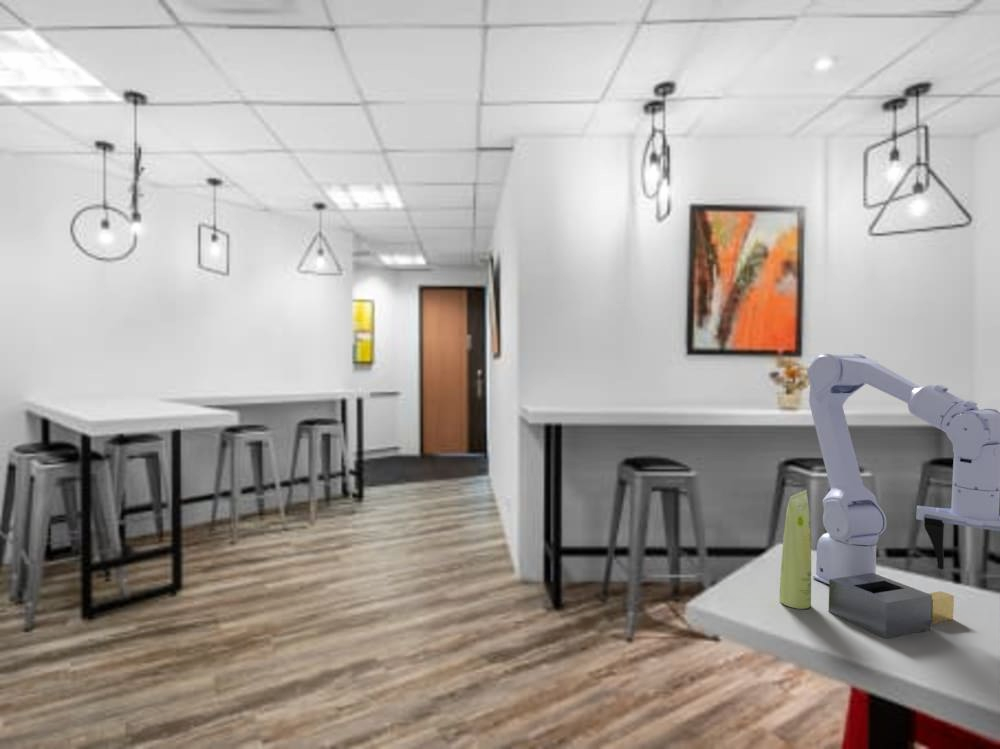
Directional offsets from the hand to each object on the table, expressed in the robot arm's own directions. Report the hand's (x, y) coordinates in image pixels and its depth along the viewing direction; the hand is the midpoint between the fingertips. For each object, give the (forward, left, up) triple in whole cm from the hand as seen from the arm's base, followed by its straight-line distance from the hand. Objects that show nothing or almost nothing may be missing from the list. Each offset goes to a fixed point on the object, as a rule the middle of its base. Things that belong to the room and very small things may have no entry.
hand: (971, 573), depth 90 cm
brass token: (-5, 0, -10) cm, 11 cm away
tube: (-17, -18, -10) cm, 26 cm away
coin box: (-8, -10, -10) cm, 16 cm away
